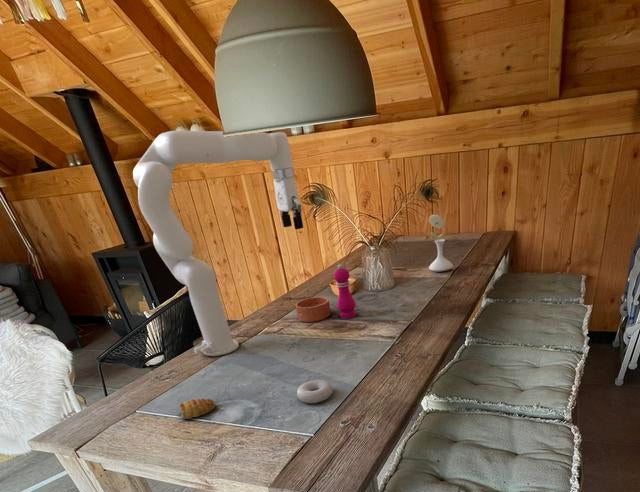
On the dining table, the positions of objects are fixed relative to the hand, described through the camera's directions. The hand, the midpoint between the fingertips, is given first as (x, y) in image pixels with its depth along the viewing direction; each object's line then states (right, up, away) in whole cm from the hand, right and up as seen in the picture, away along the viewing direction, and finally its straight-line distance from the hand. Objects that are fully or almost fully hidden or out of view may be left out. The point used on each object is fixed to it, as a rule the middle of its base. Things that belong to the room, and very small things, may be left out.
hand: (293, 227), depth 170 cm
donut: (+14, -65, -40) cm, 78 cm away
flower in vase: (+61, +4, +55) cm, 82 cm away
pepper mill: (+19, -29, +14) cm, 37 cm away
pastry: (-19, -70, -40) cm, 83 cm away
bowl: (+5, -28, +18) cm, 34 cm away
